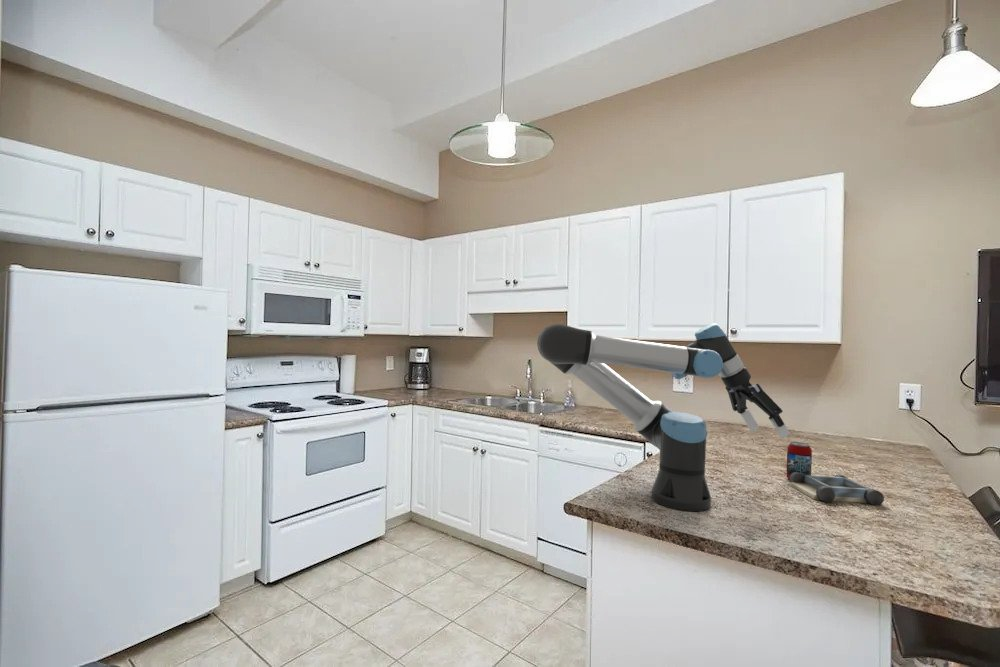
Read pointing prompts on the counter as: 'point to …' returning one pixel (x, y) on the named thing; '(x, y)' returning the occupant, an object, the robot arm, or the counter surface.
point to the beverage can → (799, 458)
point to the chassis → (834, 489)
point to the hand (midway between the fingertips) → (769, 432)
